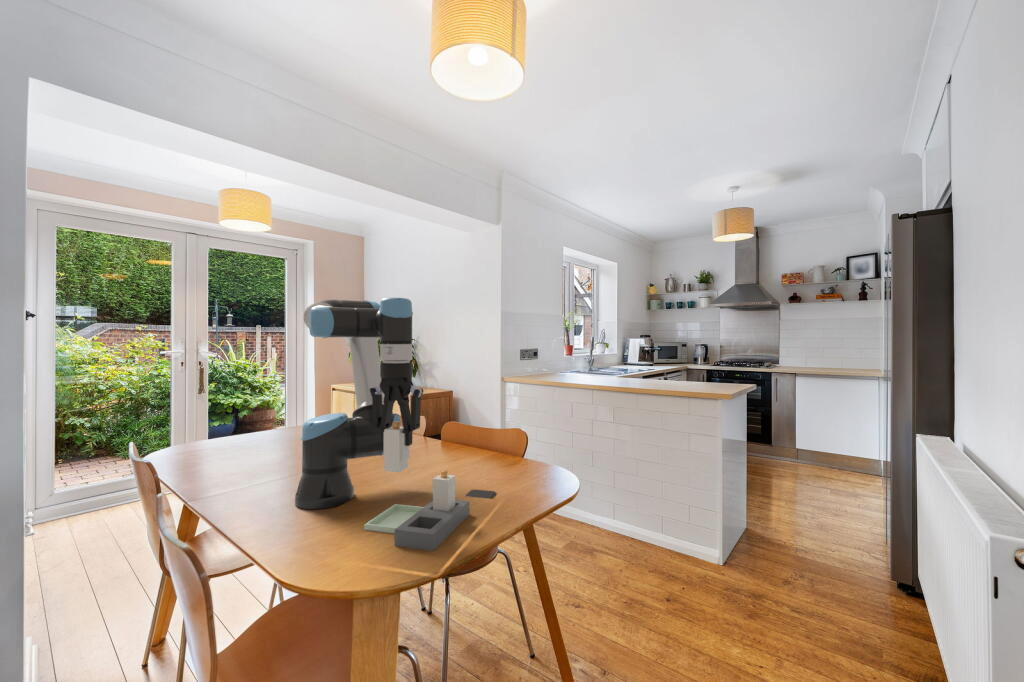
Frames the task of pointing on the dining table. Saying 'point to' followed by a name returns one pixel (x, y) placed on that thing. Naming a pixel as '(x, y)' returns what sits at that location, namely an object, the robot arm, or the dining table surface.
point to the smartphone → (481, 494)
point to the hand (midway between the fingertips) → (396, 457)
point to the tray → (391, 518)
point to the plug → (393, 449)
